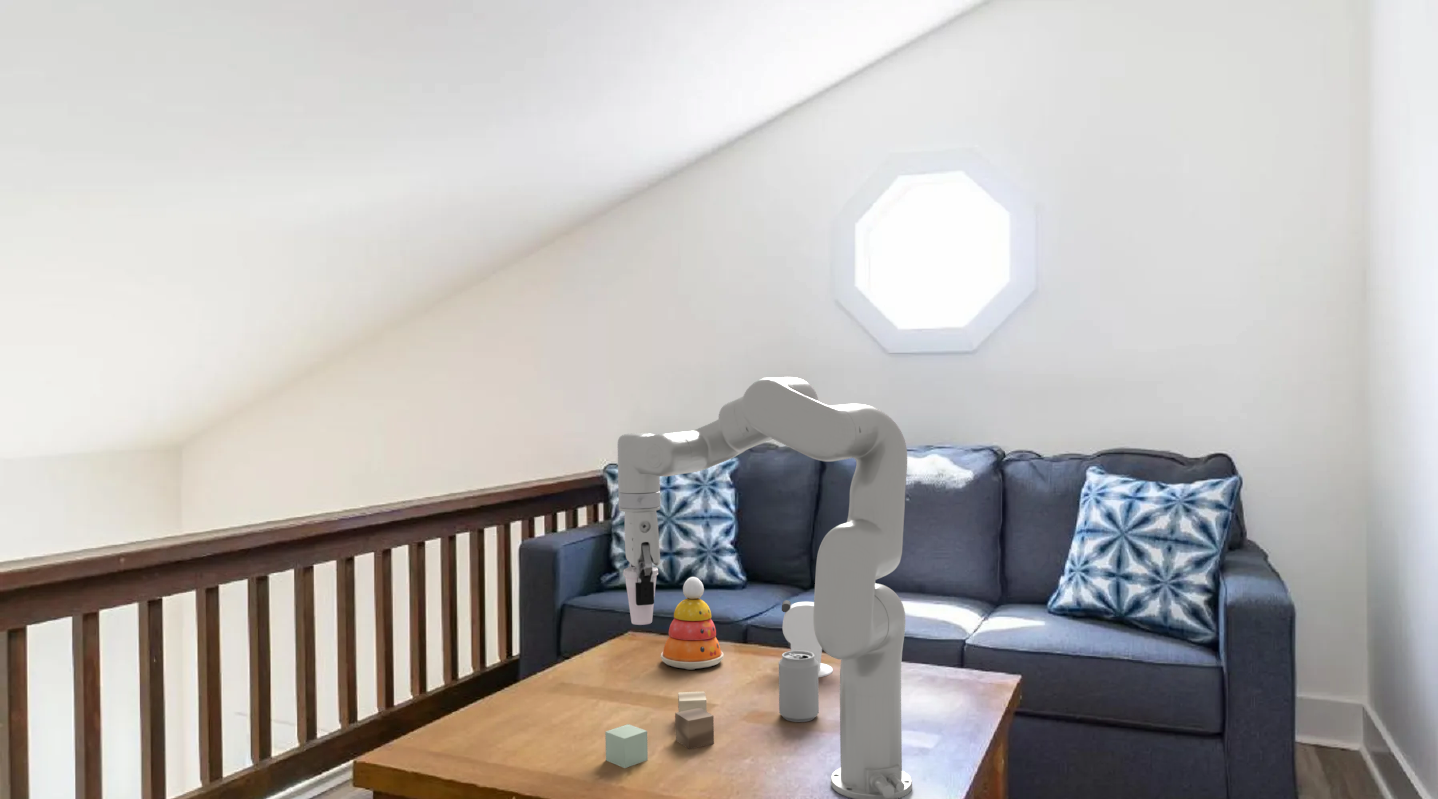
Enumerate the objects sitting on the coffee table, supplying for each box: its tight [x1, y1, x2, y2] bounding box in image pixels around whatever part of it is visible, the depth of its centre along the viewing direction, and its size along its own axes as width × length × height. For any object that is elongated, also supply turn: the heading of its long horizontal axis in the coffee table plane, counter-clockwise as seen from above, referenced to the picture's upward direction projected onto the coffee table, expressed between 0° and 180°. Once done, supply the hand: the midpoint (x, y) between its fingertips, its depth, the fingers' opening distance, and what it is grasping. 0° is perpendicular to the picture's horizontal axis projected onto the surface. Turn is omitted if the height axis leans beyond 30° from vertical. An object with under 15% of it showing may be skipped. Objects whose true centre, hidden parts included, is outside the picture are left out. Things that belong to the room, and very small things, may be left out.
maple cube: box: [677, 691, 708, 712], centre depth 189 cm, size 5×5×5 cm
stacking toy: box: [660, 576, 725, 671], centre depth 228 cm, size 14×14×20 cm
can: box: [778, 650, 820, 723], centre depth 191 cm, size 8×8×12 cm
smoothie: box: [622, 559, 659, 626], centre depth 183 cm, size 6×6×14 cm
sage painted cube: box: [604, 723, 649, 769], centre depth 171 cm, size 5×5×5 cm
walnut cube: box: [674, 708, 715, 750], centre depth 179 cm, size 5×5×5 cm
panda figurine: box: [781, 599, 834, 678], centre depth 221 cm, size 12×11×15 cm
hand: (641, 599), depth 183 cm, fingers closed on smoothie, 6 cm apart
